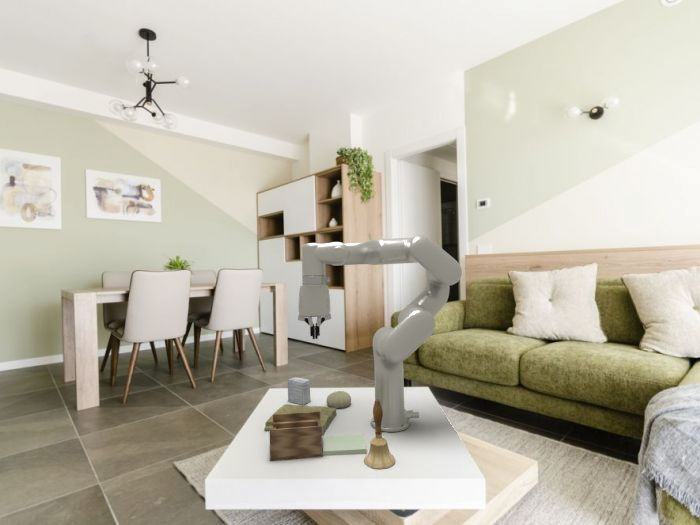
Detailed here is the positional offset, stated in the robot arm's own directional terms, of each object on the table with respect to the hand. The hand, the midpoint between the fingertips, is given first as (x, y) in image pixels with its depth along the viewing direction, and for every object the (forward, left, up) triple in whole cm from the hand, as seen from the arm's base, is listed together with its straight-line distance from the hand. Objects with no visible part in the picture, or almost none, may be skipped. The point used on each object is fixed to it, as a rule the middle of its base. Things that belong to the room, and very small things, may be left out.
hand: (315, 338), depth 118 cm
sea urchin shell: (-9, -20, -30) cm, 37 cm away
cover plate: (-8, +13, -30) cm, 33 cm away
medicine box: (+6, -26, -29) cm, 40 cm away
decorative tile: (+5, -6, -30) cm, 31 cm away
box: (+6, +12, -29) cm, 32 cm away
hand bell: (-16, +22, -29) cm, 40 cm away
